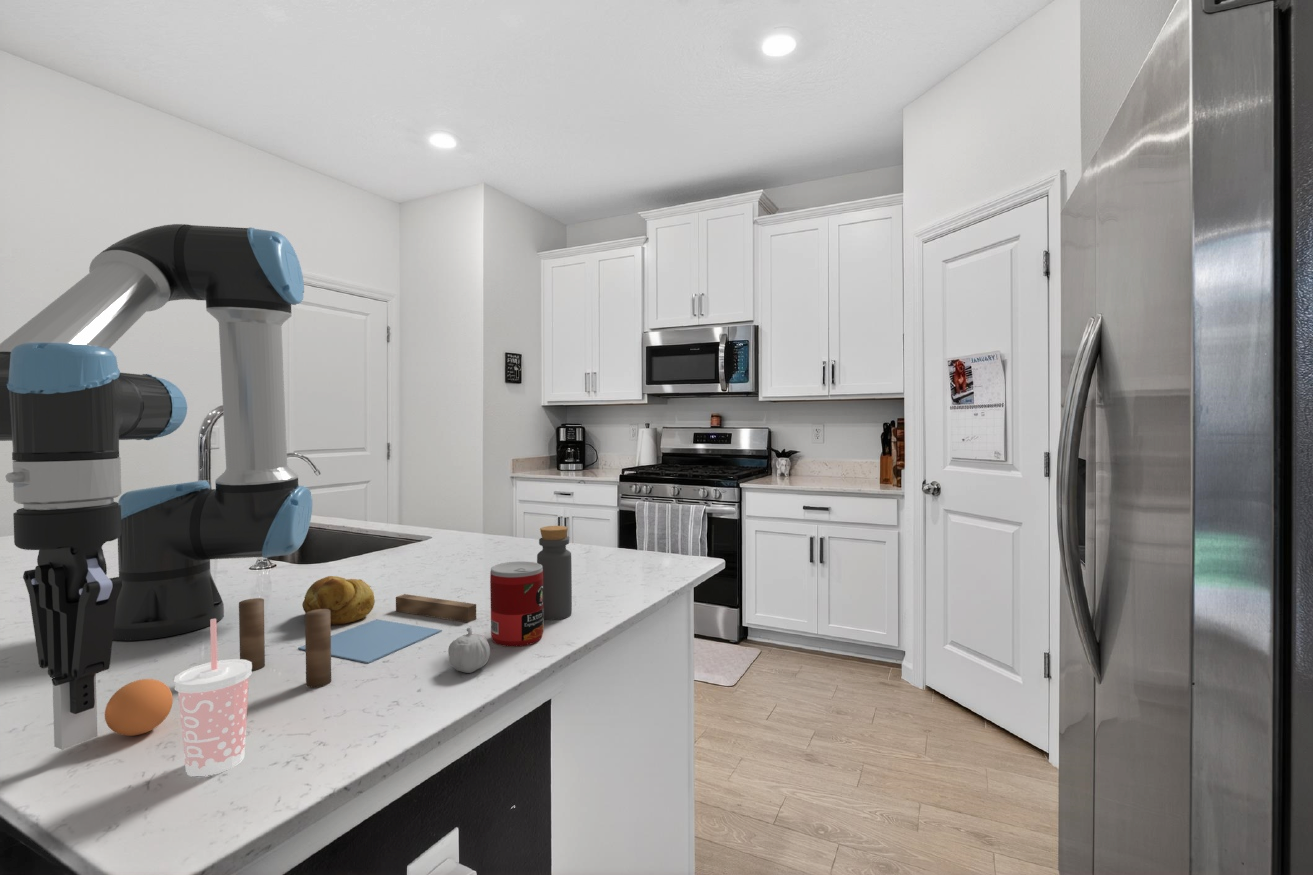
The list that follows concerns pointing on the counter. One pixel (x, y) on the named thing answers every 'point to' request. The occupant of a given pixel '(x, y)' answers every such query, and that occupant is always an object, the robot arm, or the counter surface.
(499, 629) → the canned food
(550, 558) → the bottle
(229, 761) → the beverage cup
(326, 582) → the bread roll
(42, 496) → the robot arm
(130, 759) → the counter surface
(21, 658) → the counter surface
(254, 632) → the left post
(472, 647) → the garlic
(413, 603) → the bar
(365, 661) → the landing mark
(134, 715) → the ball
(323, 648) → the right post
